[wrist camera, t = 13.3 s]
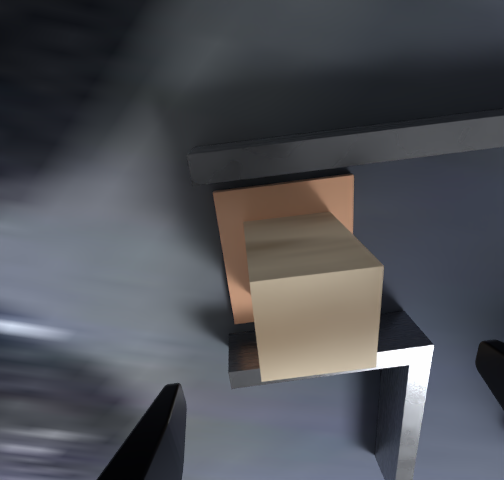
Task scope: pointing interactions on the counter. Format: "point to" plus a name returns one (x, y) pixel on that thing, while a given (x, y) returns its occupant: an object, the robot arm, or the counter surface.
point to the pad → (266, 207)
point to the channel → (391, 324)
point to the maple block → (312, 296)
